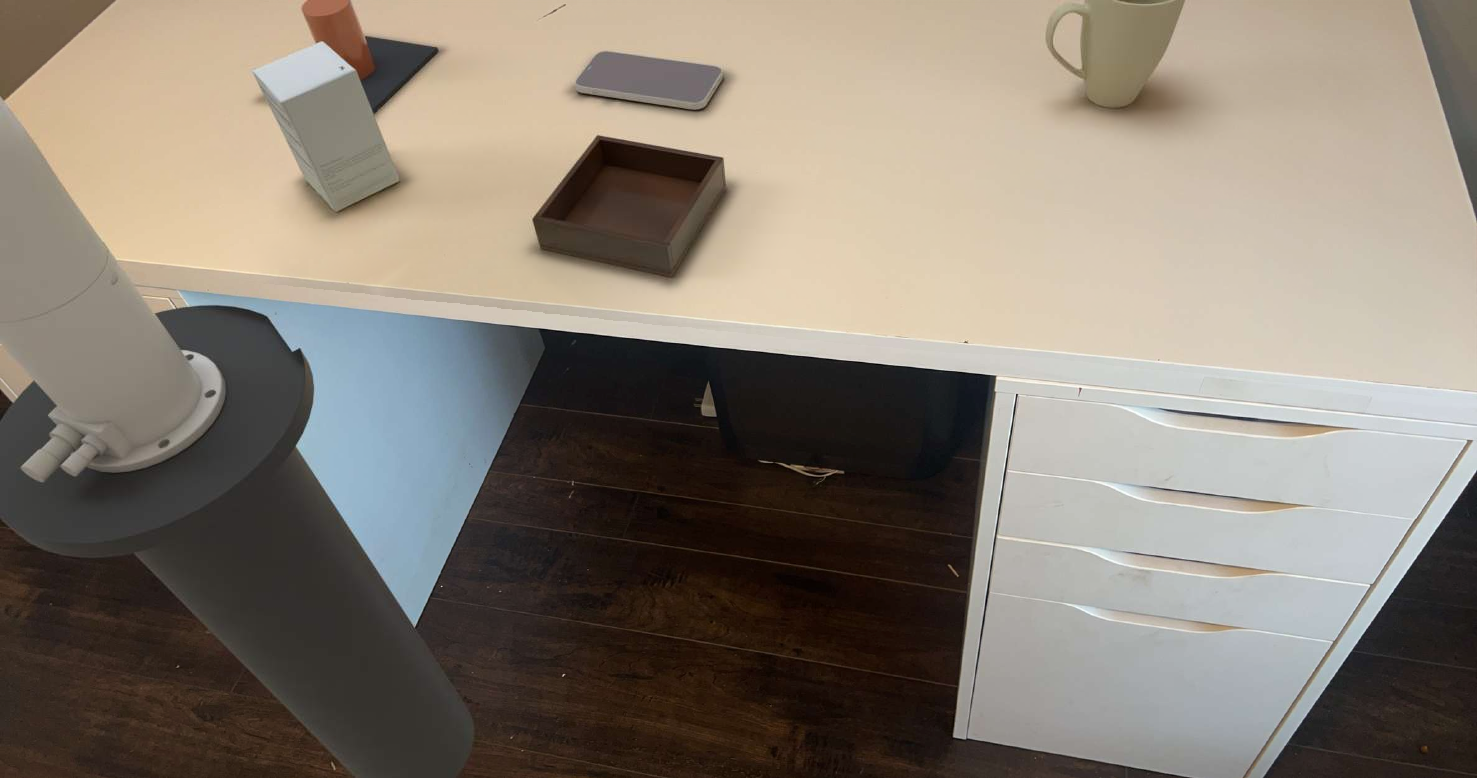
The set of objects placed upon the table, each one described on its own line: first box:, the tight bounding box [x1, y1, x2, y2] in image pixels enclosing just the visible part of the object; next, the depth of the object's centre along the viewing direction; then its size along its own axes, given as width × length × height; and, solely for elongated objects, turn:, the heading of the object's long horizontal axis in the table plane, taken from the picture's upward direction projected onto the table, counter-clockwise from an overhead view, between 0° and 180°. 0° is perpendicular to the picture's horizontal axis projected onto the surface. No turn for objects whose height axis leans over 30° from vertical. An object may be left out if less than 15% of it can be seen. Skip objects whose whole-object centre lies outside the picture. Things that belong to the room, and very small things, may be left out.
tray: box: [531, 134, 727, 278], centre depth 92 cm, size 13×13×4 cm
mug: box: [1045, 0, 1186, 109], centre depth 96 cm, size 11×10×12 cm
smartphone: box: [574, 50, 724, 111], centre depth 107 cm, size 7×1×15 cm
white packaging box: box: [251, 42, 401, 213], centre depth 95 cm, size 7×7×13 cm
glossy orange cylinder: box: [300, 0, 375, 80], centre depth 110 cm, size 5×5×8 cm
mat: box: [360, 35, 439, 115], centre depth 113 cm, size 14×14×1 cm
